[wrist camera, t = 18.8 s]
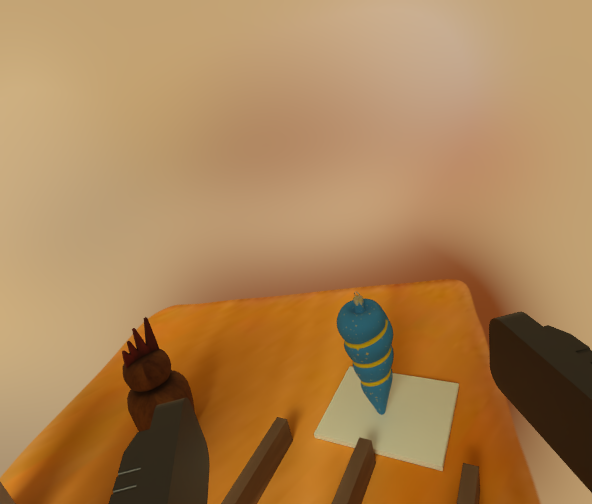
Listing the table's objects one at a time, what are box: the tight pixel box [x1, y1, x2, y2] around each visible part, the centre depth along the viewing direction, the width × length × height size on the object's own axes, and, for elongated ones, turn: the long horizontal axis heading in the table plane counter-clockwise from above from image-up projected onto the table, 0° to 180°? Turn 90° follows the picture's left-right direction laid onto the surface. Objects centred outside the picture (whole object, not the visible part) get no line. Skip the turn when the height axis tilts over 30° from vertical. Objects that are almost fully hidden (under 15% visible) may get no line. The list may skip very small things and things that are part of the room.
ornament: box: [337, 292, 394, 415], centre depth 41 cm, size 5×5×15 cm
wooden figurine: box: [122, 317, 194, 432], centre depth 46 cm, size 7×6×15 cm
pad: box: [314, 366, 459, 471], centre depth 45 cm, size 13×11×1 cm
